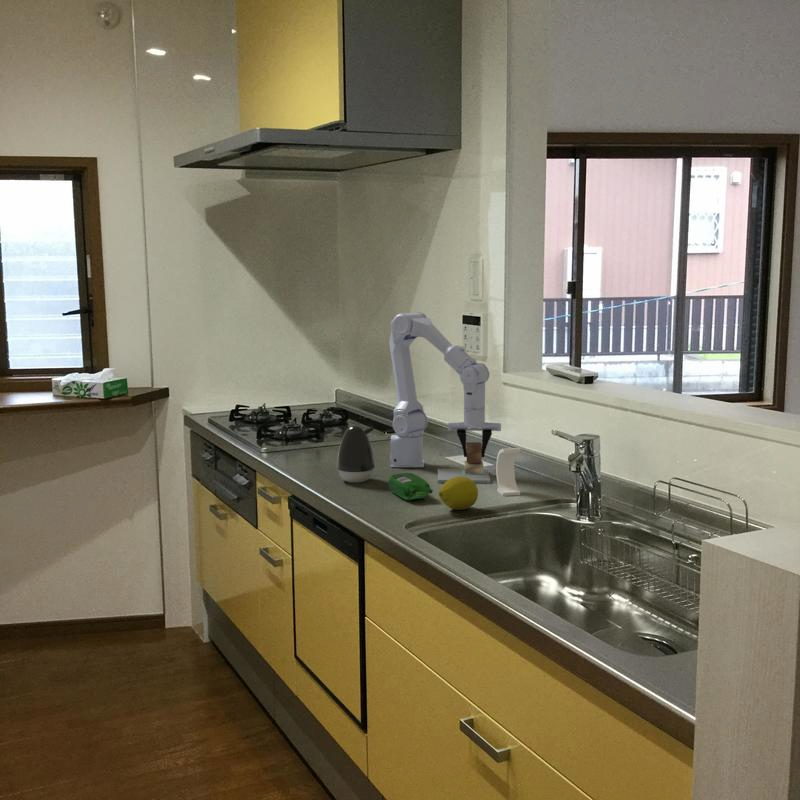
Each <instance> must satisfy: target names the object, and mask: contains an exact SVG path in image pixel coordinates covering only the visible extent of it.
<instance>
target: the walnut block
mask: <svg viewBox="0 0 800 800" xmlns="http://www.w3.org/2000/svg"><path fill="white" fill-rule="evenodd" d="M466 453H467V457H466V461H467V463H482V461H483V460H482V459H483V457H482V441H481V442H479V441H478V442H477V441H473V442H472V441H471V442H469V441H468V442H467V441H466Z"/></svg>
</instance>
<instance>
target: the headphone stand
mask: <svg viewBox="0 0 800 800" xmlns="http://www.w3.org/2000/svg"><path fill="white" fill-rule="evenodd" d="M521 451H522V449H521V447H520V448H519V447H518V448H500V449H499V451H498V453H497V457H496V464H495V465H496V466H495V469H496V470H495V471H496V472H495V474H496V483H497V488H496V492H497V493H499V495H501V496H503V497H509V496H510V497H511V496H521V491H520V490H519V487H518V486H517V485H518V484H517V482H516V478H515V477H516V476H515V462H516V461H515V460H516V456H517V454H518V453H519V452H520V453H521Z"/></svg>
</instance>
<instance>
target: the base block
mask: <svg viewBox="0 0 800 800" xmlns="http://www.w3.org/2000/svg"><path fill="white" fill-rule="evenodd" d="M464 469H465V474H483V469H484V461H483V460H482V463H467V460H464Z"/></svg>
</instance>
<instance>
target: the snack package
mask: <svg viewBox="0 0 800 800" xmlns="http://www.w3.org/2000/svg"><path fill="white" fill-rule="evenodd" d="M387 484H388V486H389V490H390V491H391V492H392V493H393V494H394V495H397V496H398V497H400V498H402V499H404V500H406V501H412V500H420V499H424V498H426V497H427V496H428V495H429V494H433V492H434V491H433V489H432V488H431V486H430V484H429V483H428V481H427V480H426V479H424V478H422V477H420V476H419V475H417V474H415V473H411V472H402V473H395V474H392V475H390V477H389V479H388V482H387Z"/></svg>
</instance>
